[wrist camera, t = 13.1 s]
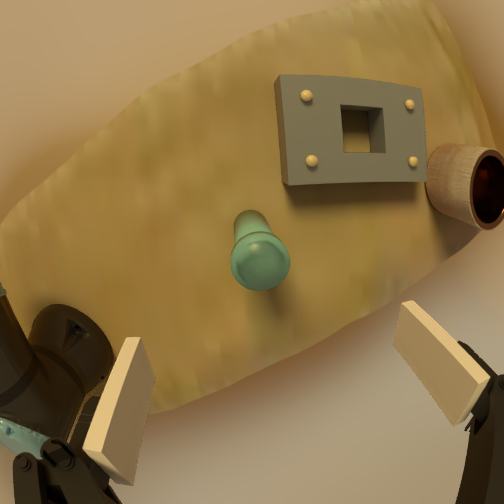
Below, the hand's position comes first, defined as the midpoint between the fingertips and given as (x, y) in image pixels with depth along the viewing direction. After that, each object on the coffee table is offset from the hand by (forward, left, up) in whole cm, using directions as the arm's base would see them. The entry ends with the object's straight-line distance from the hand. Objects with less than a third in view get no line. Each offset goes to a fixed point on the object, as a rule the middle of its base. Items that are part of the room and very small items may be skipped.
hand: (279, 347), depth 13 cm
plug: (0, 0, -23) cm, 23 cm away
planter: (+30, +5, -23) cm, 38 cm away
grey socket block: (+13, +11, -23) cm, 29 cm away
